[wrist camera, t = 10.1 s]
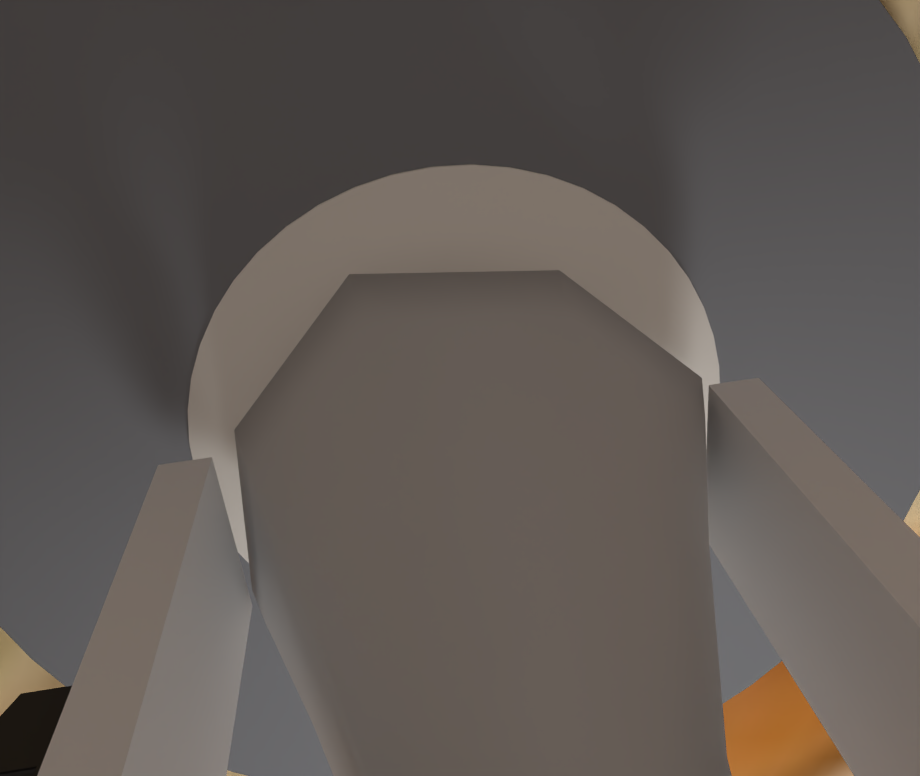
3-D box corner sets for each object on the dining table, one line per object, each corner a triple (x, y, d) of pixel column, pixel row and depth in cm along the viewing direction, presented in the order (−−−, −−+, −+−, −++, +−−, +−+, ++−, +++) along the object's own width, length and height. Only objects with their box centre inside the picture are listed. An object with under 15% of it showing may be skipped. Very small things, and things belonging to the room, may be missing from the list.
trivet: (97, 817, 19) (83, 863, 18) (-316, -117, 11) (-383, -126, 10) (873, 687, 20) (900, 724, 19) (1026, -253, 12) (1087, -273, 11)
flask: (301, 183, 11) (91, 1088, 2) (773, 332, 13) (1756, 1169, 4) (184, 610, 14) (-121, 1788, 5) (586, 684, 16) (907, 1647, 7)
